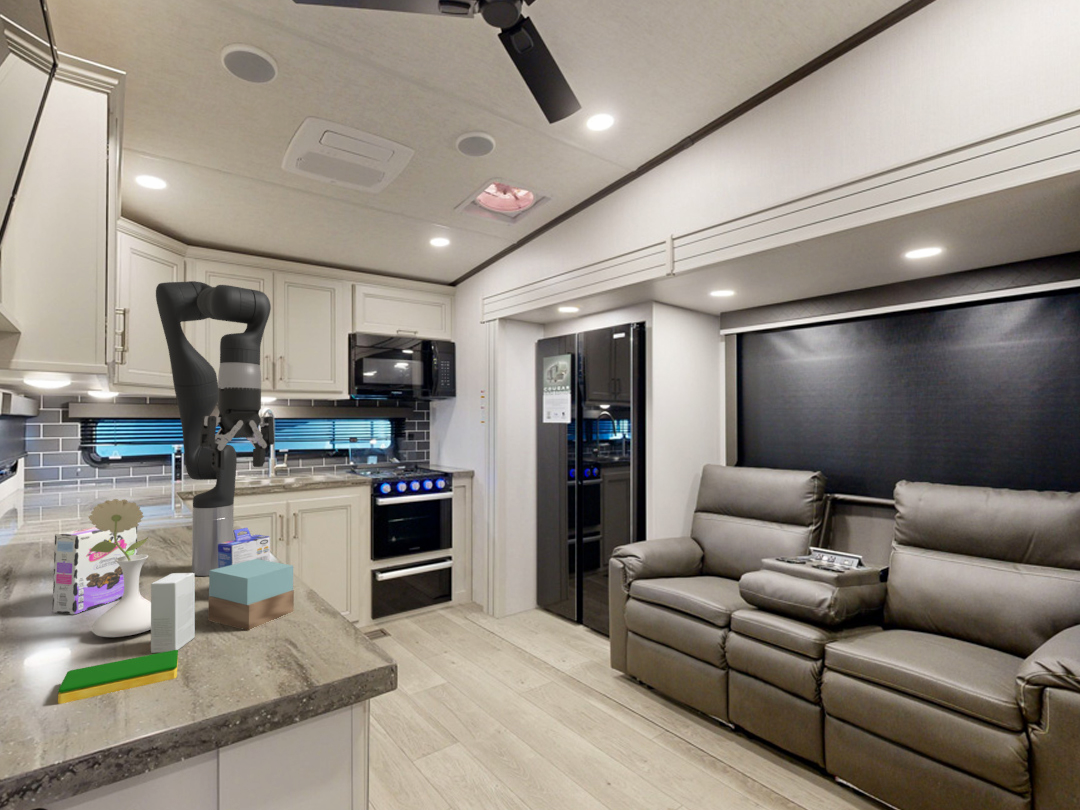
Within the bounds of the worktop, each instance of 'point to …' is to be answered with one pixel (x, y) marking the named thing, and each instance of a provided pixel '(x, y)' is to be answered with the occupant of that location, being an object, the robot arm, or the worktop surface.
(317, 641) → the worktop surface
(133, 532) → the candy box
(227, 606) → the tower base block
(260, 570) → the tower top block
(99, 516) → the flower in vase
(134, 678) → the dish sponge
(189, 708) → the worktop surface
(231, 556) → the ink cartridge box
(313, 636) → the worktop surface
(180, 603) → the skincare box
